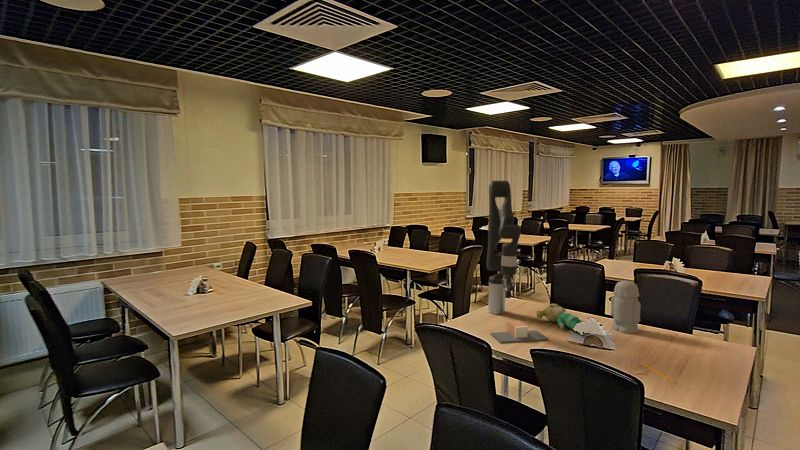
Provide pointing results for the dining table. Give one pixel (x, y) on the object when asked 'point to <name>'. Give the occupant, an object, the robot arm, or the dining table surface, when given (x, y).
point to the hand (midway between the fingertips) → (507, 297)
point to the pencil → (657, 372)
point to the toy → (559, 316)
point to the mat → (508, 338)
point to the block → (517, 329)
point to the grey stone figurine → (625, 307)
